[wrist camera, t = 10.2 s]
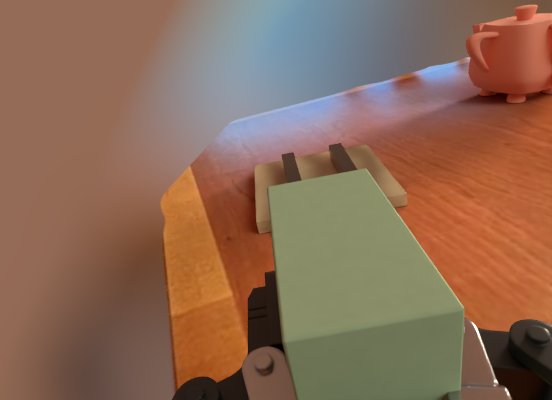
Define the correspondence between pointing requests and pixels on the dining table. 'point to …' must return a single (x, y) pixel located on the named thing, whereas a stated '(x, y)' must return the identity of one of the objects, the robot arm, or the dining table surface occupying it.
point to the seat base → (319, 167)
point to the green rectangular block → (359, 296)
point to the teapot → (512, 55)
